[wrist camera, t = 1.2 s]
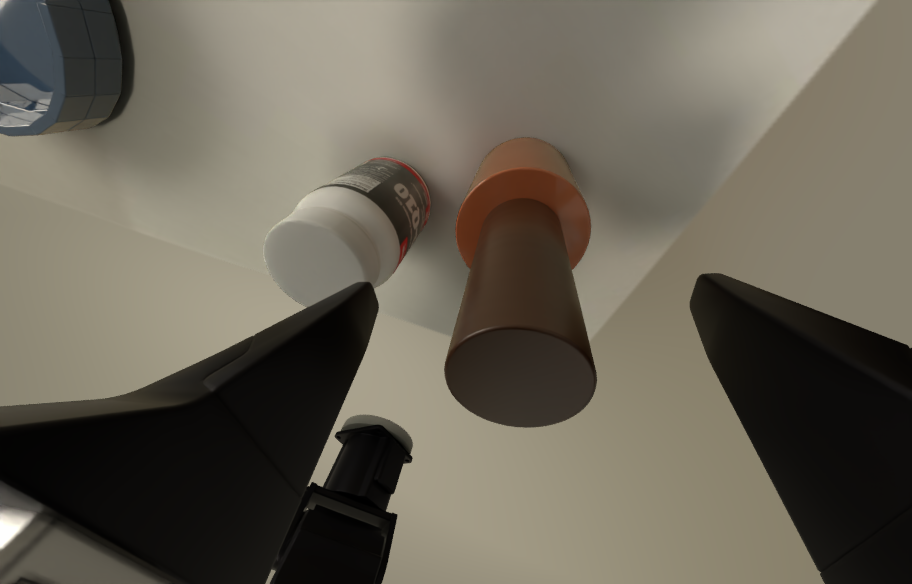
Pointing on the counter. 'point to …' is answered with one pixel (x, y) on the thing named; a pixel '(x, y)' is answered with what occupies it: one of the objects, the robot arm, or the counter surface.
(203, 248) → the counter surface
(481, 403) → the brown cylinder
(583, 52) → the counter surface
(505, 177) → the orange cylinder cap
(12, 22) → the bowl
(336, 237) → the pill bottle
